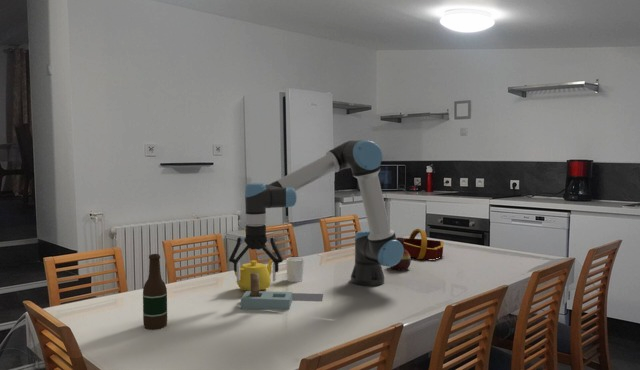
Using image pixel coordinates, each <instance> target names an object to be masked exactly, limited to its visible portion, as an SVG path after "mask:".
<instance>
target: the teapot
mask: <svg viewBox="0 0 640 370" xmlns="http://www.w3.org/2000/svg"><path fill="white" fill-rule="evenodd" d="M273 263H274V262H273V261H272V259H270V260H269V261H268V263H267V266H266V264H264V263H260V262H258V261H257V260H254V259H253V260H250V261H249V262H248V263H243V264H240V280H239V281H237V280H236V284H237V285H238V287H239V288H240V291H243V292H244V291H245V292H246V291H251V274H252V273H259V291H266V290H267V289H268V288H269V287H270V285H271V283H272V282H271V274H272V266H273ZM234 275H235V278H237V272H234Z"/></svg>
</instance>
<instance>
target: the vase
mask: <svg viewBox="0 0 640 370" xmlns="http://www.w3.org/2000/svg"><path fill="white" fill-rule="evenodd" d="M404 238H405V237H396V240H398V241H399V242H400V243H401V244H402V245H403V249H404ZM411 262H412V259H411V256H410V254H409V253H408V251H407V250H405V249H404V253H403V256H402V258H401V260H400V262H399V263H398V264H396V265H394V266H391V267H390V268H391V269H392V270H394V271H407V270H408V269H409V268H410V266H411ZM406 269H407V270H406Z"/></svg>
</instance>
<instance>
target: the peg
mask: <svg viewBox="0 0 640 370" xmlns="http://www.w3.org/2000/svg"><path fill="white" fill-rule="evenodd" d="M259 291H260V290H259V273H252V274H251V297H259Z"/></svg>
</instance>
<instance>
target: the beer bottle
mask: <svg viewBox="0 0 640 370" xmlns="http://www.w3.org/2000/svg"><path fill="white" fill-rule="evenodd" d="M148 259H149V266H148V278H147V280H146V281H145V283H144V285H143V287H142V313H143V314H142V319H143V320H142V322H143V327H144V329H145V330H149V331H150V330H151V331H154V330H161V328H162V329H164V328H165V327H167V325H168V291H167V286H166V283H165V282H164V280H163V279H162V274H161V273H162V272H161V260H160V259H161V255H160V254H159V253H151V254H149V255H148Z"/></svg>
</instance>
